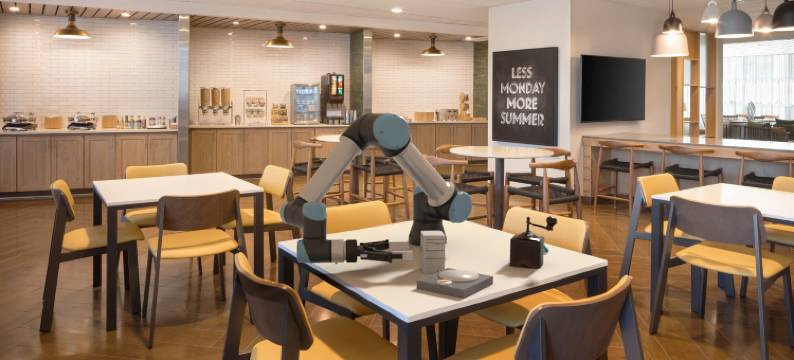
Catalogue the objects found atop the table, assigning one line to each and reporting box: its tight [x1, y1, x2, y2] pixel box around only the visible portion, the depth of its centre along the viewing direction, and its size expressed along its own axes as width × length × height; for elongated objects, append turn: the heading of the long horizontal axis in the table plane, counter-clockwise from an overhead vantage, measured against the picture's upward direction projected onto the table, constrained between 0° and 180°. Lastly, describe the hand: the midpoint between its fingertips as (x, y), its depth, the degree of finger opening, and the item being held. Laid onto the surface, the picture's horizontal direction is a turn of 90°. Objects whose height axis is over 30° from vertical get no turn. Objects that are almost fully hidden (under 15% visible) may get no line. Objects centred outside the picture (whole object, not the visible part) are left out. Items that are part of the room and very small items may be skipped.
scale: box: [416, 267, 494, 299], centre depth 188 cm, size 16×18×3 cm
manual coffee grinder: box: [508, 215, 558, 270], centre depth 213 cm, size 16×11×18 cm
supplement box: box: [419, 231, 446, 274], centre depth 205 cm, size 7×7×13 cm
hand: (410, 250), depth 204 cm, fingers open, 13 cm apart
